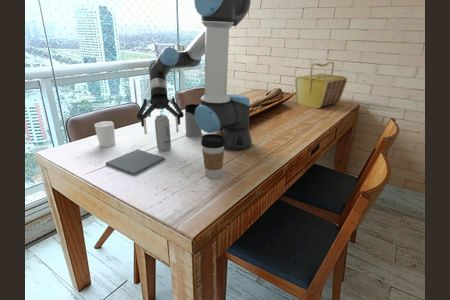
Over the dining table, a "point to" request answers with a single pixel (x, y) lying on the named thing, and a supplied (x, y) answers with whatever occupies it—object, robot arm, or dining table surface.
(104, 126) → the white cup
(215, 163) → the coffee cup
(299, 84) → the picnic basket
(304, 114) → the dining table surface
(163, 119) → the energy drink can
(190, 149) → the dining table surface
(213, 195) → the dining table surface
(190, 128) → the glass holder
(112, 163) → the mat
